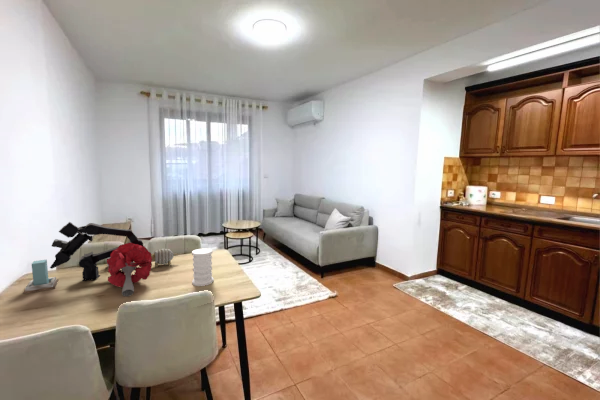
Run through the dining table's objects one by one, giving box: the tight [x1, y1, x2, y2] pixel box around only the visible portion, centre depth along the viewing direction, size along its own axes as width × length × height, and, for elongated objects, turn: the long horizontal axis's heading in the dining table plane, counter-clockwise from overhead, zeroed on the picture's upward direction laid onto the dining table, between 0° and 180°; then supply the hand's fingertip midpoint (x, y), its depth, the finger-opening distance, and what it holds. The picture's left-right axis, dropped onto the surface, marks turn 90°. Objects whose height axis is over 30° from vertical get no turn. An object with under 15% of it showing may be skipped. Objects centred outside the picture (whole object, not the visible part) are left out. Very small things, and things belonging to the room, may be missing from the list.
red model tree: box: [106, 242, 153, 297], centre depth 148 cm, size 22×24×30 cm
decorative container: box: [191, 247, 215, 287], centre depth 157 cm, size 12×12×18 cm
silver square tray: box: [22, 276, 59, 295], centre depth 147 cm, size 12×12×3 cm
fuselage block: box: [31, 259, 49, 286], centre depth 147 cm, size 5×5×13 cm
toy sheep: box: [151, 248, 179, 268], centre depth 182 cm, size 11×17×11 cm, turn 127°
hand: (52, 265), depth 149 cm, fingers open, 9 cm apart
